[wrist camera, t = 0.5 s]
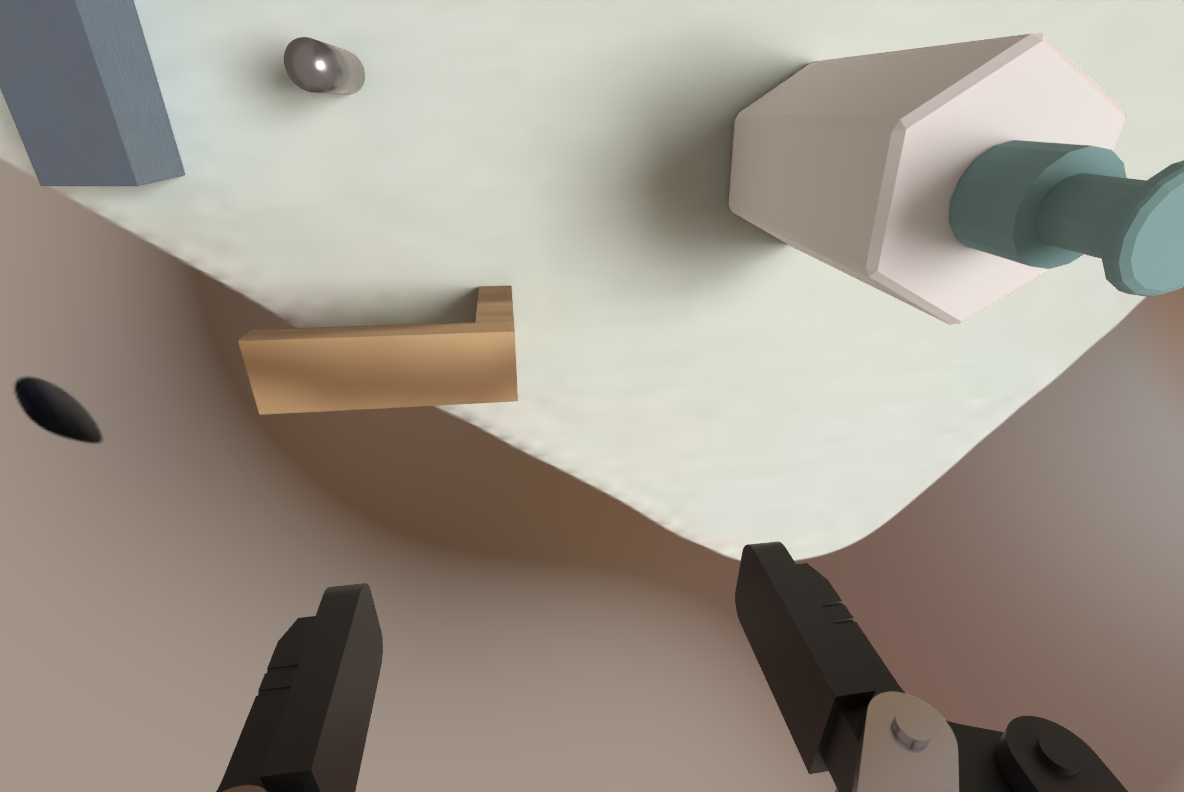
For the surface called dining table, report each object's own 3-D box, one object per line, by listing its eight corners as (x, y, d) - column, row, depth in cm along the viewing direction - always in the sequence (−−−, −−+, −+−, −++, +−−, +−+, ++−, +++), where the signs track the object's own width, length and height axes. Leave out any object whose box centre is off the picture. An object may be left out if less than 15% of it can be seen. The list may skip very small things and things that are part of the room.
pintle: (319, 48, 28) (278, 36, 23) (361, 49, 29) (330, 38, 23) (327, 93, 29) (290, 91, 24) (367, 94, 29) (339, 92, 24)
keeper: (292, 291, 33) (238, 341, 26) (511, 285, 35) (514, 331, 28) (307, 352, 35) (259, 414, 28) (514, 344, 37) (517, 401, 30)
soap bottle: (855, 238, 37) (1238, 386, 18) (723, 249, 36) (979, 416, 17) (887, 59, 32) (1460, -4, 13) (736, 64, 31) (1115, 6, 12)
